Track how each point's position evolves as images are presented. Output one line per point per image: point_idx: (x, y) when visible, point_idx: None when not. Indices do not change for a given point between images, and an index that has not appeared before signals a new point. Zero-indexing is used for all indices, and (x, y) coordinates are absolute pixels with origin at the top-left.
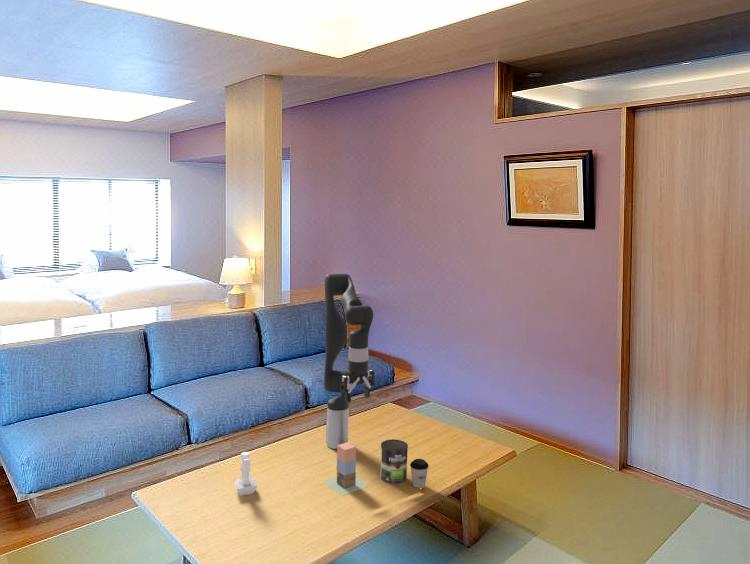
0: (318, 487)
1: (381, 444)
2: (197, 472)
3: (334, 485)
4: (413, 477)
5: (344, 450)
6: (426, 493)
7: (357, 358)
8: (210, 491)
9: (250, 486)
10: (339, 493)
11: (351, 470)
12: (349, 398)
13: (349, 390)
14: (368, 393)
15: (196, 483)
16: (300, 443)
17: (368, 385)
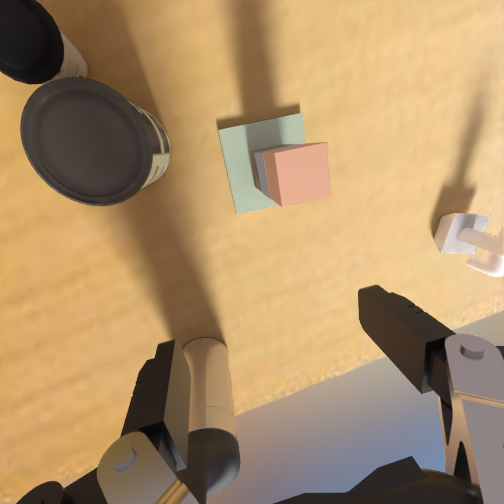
0: None
1: (146, 172)
2: (469, 321)
3: None
4: (73, 48)
5: (326, 144)
6: (53, 9)
7: None
8: (488, 253)
9: (466, 215)
10: (303, 126)
11: (271, 149)
12: (401, 303)
13: (494, 363)
14: (160, 372)
15: (489, 287)
16: (274, 377)
17: (144, 482)
